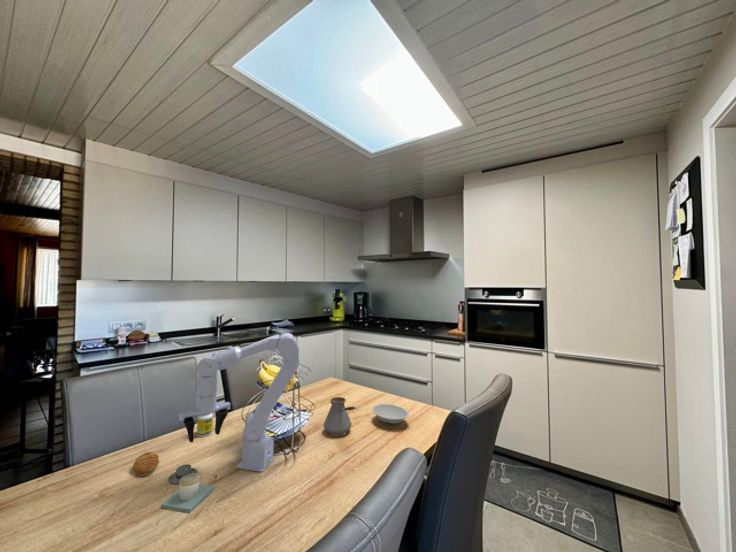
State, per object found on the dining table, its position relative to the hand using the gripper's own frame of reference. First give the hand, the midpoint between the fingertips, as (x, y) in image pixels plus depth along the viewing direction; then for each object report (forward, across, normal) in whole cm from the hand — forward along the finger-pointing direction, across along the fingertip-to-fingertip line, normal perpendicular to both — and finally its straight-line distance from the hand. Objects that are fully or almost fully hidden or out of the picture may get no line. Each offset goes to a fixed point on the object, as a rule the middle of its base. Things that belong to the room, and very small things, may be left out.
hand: (204, 437), depth 96 cm
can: (+10, +7, +11) cm, 16 cm away
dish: (+10, -71, +17) cm, 73 cm away
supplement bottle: (+11, -8, -26) cm, 29 cm away
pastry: (+11, +13, -14) cm, 22 cm away
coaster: (+10, +7, +11) cm, 17 cm away
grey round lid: (+10, +5, -1) cm, 12 cm away
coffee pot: (+10, -47, +13) cm, 50 cm away
